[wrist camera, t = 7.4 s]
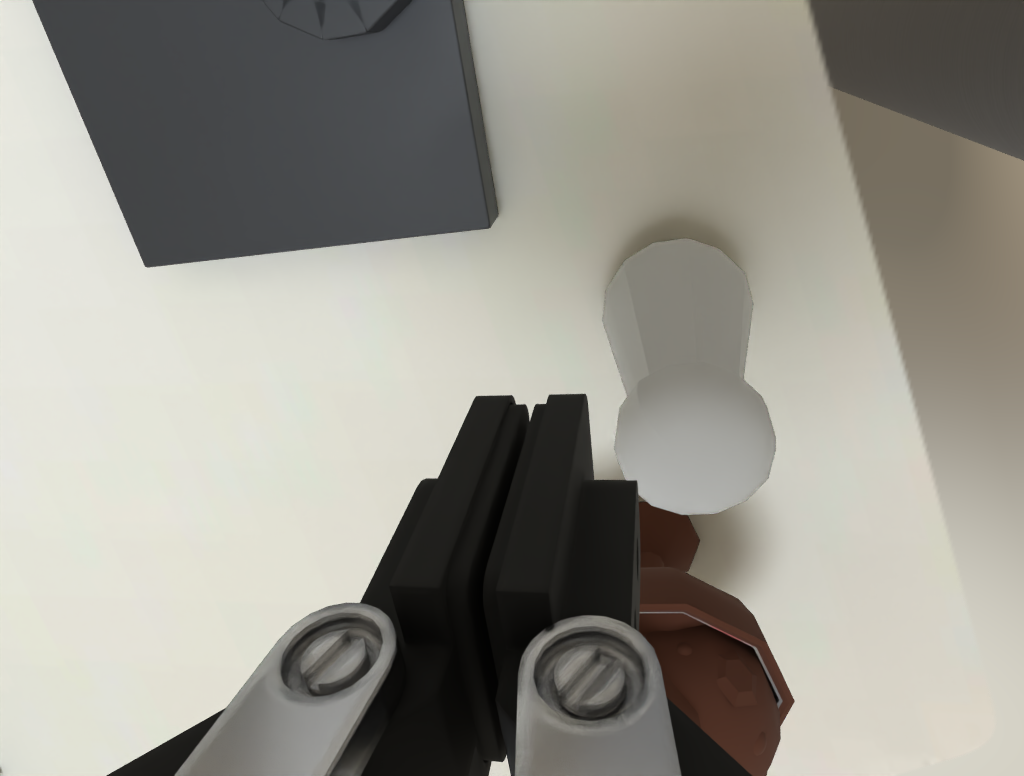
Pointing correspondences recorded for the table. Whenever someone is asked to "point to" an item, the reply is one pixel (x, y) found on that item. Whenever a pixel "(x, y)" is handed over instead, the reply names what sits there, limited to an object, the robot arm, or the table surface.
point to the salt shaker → (686, 379)
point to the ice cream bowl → (708, 646)
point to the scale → (278, 120)
